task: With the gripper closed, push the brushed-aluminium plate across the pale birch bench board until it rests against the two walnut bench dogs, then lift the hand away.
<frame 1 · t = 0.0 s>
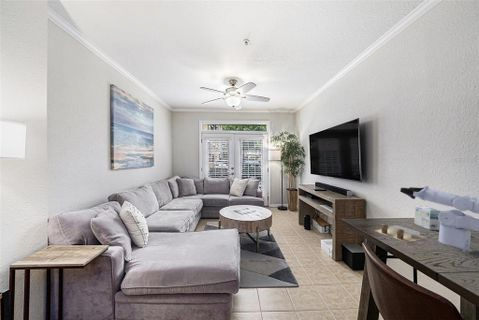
hand: (405, 189, 112), 22 cm above the table, tool horizontal, fingers open, 7 cm apart
bench board: (399, 236, 104), on the table
plate: (403, 233, 105), point 1 cm above the table, touching bench board
light bulb box: (426, 227, 121), on the table
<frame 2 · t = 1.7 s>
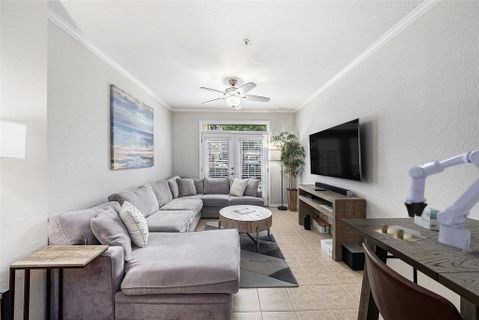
hand: (414, 216, 109), 8 cm above the table, tool pointing down, fingers open, 6 cm apart
nothing on the table moved.
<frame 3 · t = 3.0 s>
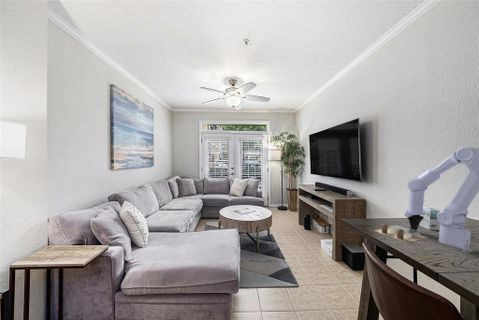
hand: (414, 229, 109), 2 cm above the table, tool pointing down, fingers closed
nothing on the table moved.
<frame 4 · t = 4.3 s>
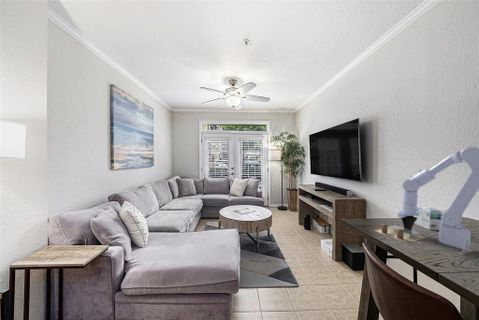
hand: (407, 230, 107), 2 cm above the table, tool pointing down, fingers closed
plate: (402, 233, 105), point 1 cm above the table
everything else where it was.
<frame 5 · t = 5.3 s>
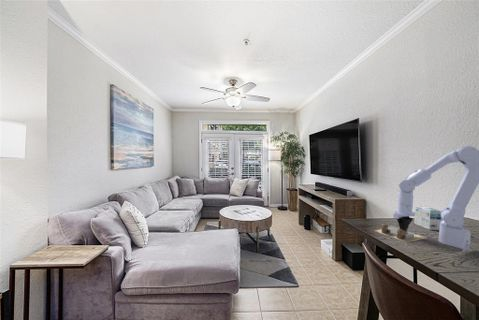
hand: (403, 231, 105), 2 cm above the table, tool pointing down, fingers closed
plate: (397, 234, 103), point 1 cm above the table, touching bench board, gripper
everything else where it was.
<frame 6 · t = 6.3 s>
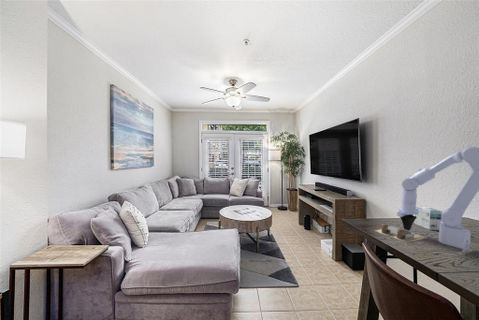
hand: (407, 229, 106), 3 cm above the table, tool pointing down, fingers closed
plate: (397, 234, 103), point 1 cm above the table, touching bench board
everything else where it was.
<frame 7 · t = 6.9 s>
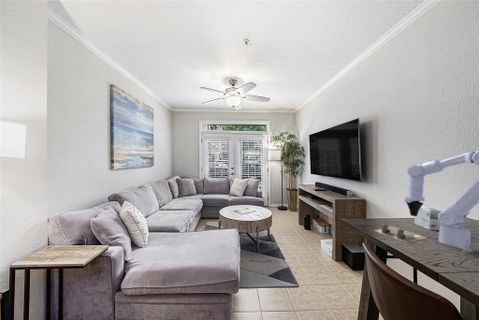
hand: (413, 215, 108), 9 cm above the table, tool pointing down, fingers closed
nothing on the table moved.
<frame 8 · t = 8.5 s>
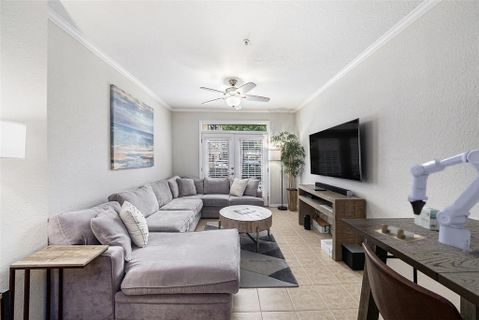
hand: (416, 214, 110), 9 cm above the table, tool pointing down, fingers closed
nothing on the table moved.
at the end: plate 0.1 cm from the target spot on the bench board, point 1.0 cm above the bench board's base; plate tilted 0°; plate moved 4.8 cm from its start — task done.
